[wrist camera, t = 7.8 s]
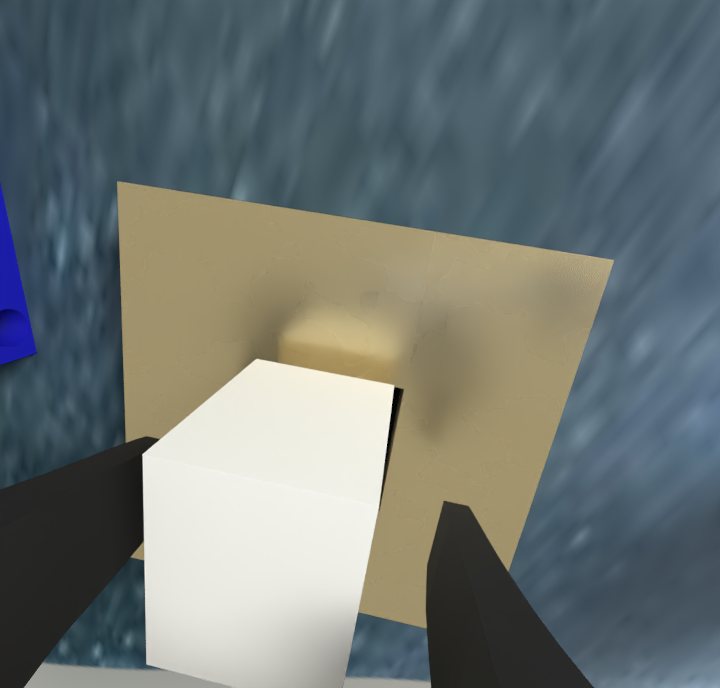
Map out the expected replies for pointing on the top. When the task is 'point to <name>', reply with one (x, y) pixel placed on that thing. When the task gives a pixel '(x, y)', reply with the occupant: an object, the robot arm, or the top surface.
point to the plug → (264, 527)
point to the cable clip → (12, 299)
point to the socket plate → (364, 349)
